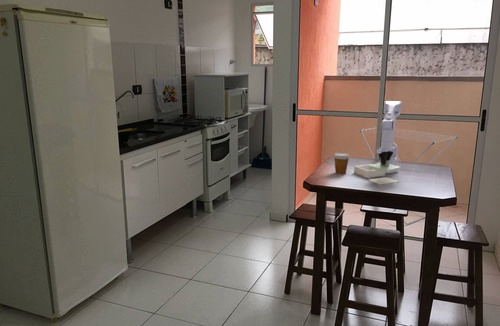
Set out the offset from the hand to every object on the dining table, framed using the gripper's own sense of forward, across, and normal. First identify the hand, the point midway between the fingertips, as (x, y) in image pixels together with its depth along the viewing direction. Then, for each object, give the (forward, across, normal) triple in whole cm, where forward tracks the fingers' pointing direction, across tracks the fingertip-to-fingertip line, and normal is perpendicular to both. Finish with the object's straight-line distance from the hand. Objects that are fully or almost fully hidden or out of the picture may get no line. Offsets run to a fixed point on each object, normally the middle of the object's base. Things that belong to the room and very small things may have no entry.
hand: (384, 164), depth 238 cm
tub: (+10, -5, -14) cm, 18 cm away
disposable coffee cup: (+10, +6, -27) cm, 30 cm away
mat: (+10, 0, 0) cm, 10 cm away
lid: (+2, 0, 0) cm, 2 cm away
